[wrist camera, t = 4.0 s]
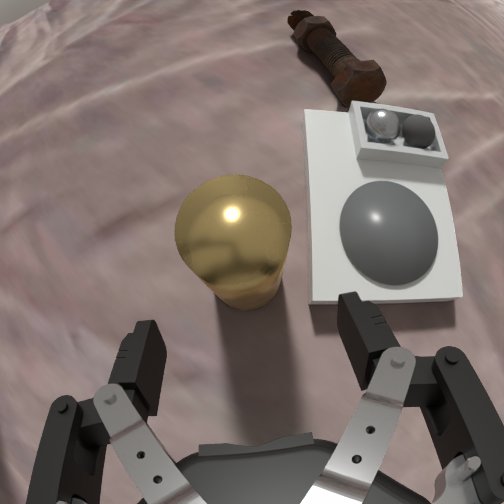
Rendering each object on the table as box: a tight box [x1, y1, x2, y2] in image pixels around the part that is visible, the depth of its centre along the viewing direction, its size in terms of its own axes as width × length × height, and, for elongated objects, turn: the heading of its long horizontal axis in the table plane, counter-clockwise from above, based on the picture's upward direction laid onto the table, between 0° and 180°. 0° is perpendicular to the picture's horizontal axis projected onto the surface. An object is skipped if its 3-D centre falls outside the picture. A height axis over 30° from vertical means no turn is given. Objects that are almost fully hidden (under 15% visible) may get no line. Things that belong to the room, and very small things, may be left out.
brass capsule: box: [175, 175, 292, 310], centre depth 18 cm, size 5×5×10 cm
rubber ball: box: [402, 114, 435, 149], centre depth 22 cm, size 3×3×3 cm
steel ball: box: [365, 109, 401, 144], centre depth 22 cm, size 3×3×3 cm
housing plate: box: [302, 101, 463, 304], centre depth 22 cm, size 12×16×4 cm
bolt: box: [288, 10, 386, 107], centre depth 27 cm, size 6×5×15 cm
